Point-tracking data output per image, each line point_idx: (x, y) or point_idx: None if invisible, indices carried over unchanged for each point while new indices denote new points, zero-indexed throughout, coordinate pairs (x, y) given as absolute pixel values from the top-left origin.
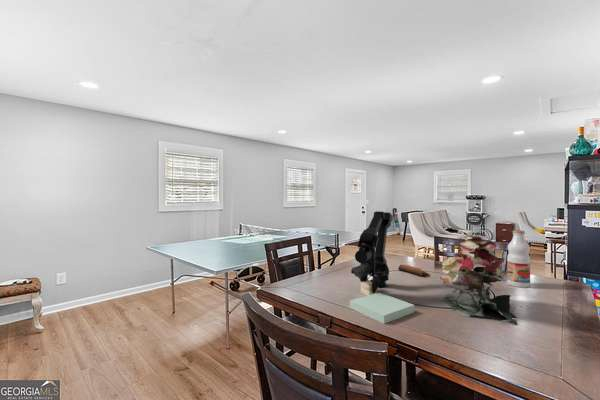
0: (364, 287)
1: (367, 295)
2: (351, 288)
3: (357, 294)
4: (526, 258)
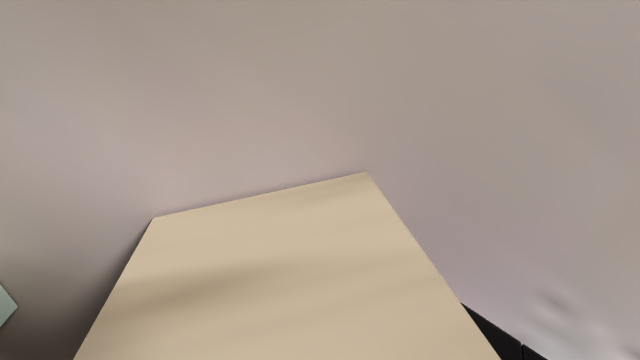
0: (282, 288)
1: (200, 212)
2: (627, 163)
3: (360, 91)
4: None
